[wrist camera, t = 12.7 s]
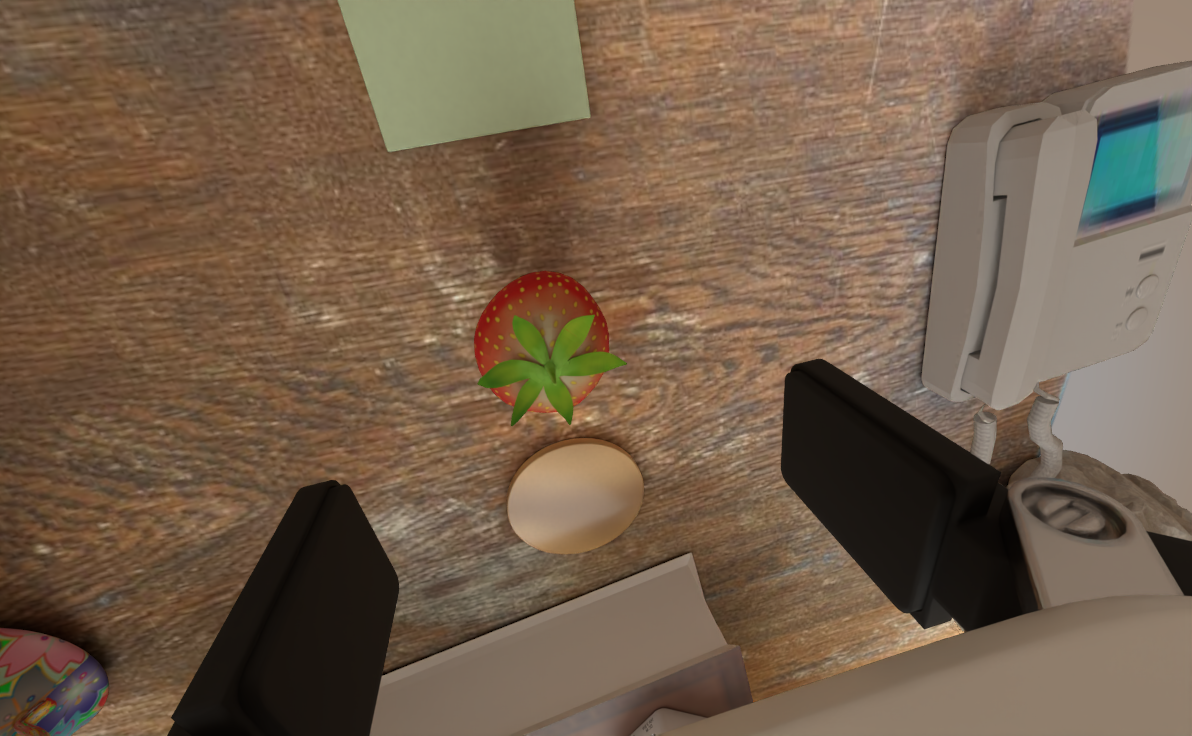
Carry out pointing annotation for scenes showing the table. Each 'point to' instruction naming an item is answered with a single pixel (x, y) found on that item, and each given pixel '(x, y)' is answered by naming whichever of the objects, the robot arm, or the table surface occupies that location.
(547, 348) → the fruit
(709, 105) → the table surface
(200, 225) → the table surface
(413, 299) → the table surface
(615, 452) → the coaster
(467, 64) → the napkin
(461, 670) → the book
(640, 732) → the multiport hub
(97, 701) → the mug
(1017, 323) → the intercom
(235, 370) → the table surface
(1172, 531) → the stone
